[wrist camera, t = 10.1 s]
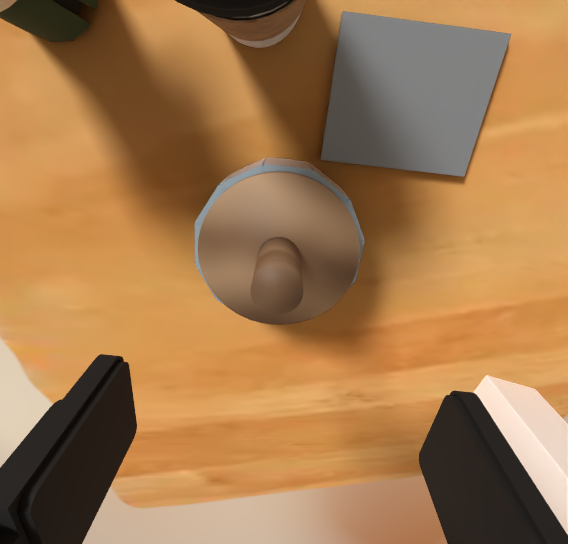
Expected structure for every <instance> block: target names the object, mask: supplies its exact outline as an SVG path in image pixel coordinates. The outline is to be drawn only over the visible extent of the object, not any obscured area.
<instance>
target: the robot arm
mask: <svg viewBox="0 0 568 544" xmlns="http://www.w3.org/2000/svg"><path fill="white" fill-rule="evenodd" d="M136 429H137V422H136V415H135V407H134V400H133V392H132V385H131V377H130V370H129V364H128V362H124V360H123V358H122V357H121V356H112V355H102V354H101V355H99V356H98V357H97V358H96V359H95V360H94V361H93V362H92V364H91V365H90V366H89V367H88V369H87V370H86V371H85V372H84V374H83V375H82V376H81V377H80V378H79V380H78V381H77V382H76V383H75V385H74V386H73V387H72V388H71V390H70V391H69V392H68V393H67V395H66V396H65V397H64V398H63V400H59V401H57V402H55V403H54V404H53V405H52V406H51V407H50V408H49V410H48V411H47V412H46V413H45V414H44V416H43V417H42V418H41V419H40V420H39V422H38V423H37V424H36V425H35V427H34V428H33V429H32V430H31V431H30V433H29V434H28V435H27V436H26V438H25V439H24V440H23V441H22V442H21V444H20V445H19V446H18V447H17V448H16V450H15V451H14V452H13V453H12V454H11V456H10V457H9V458H8V459H7V460H6V462H5V463H4V464H3V465H2V467H1V468H0V544H82V543H83V541H84V538H85V536H86V534H87V532H88V530H89V528H90V526H91V524H92V522H93V520H94V518H95V516H96V514H97V512H98V510H99V508H100V506H101V504H102V502H103V500H104V498H105V496H106V493H107V492H108V490H109V488H110V486H111V484H112V482H113V480H114V478H115V475H116V473H117V471H118V469H119V467H120V465H121V463H122V461H123V459H124V457H125V455H126V453H127V451H128V449H129V447H130V445H131V443H132V441H133V439H134V436H135V433H136ZM419 463H420V467H421V470H422V473H423V476H424V478H425V481H426V484H427V487H428V489H429V492H430V495H431V498H432V501H433V504H434V506H435V509H436V512H437V515H438V518H439V520H440V523H441V526H442V529H443V532H444V534H445V537H446V540H447V543H448V544H568V535H567V533H566V532H565V530H564V528H563V527H562V525H561V524H560V522H559V521H558V519H557V518H556V516H555V514H554V513H553V511H552V510H551V508H550V507H549V505H548V504H547V502H546V501H545V499H544V497H543V496H542V494H541V493H540V491H539V490H538V488H537V487H536V485H535V484H534V482H533V480H532V479H531V477H530V476H529V474H528V473H527V471H526V470H525V468H524V466H523V465H522V463H521V462H520V460H519V459H518V457H517V456H516V454H515V453H514V451H513V449H512V448H511V446H510V445H509V443H508V442H507V440H506V439H505V437H504V436H503V434H502V432H501V431H500V429H499V428H498V426H497V425H496V423H495V422H494V420H493V418H492V417H491V415H490V414H489V412H488V411H487V409H486V408H485V406H484V405H483V403H482V401H481V400H480V398H479V397H478V396H477V395H476V394H475V393H471V392H462V391H452V392H451V393H450V395H447V396H445V398H444V400H443V402H442V404H441V406H440V409H439V411H438V413H437V415H436V417H435V420H434V422H433V424H432V426H431V428H430V431H429V433H428V435H427V437H426V440H425V442H424V444H423V446H422V448H421V451H420V453H419Z"/></svg>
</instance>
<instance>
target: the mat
mask: <svg viewBox="0 0 568 544" xmlns="http://www.w3.org/2000/svg"><path fill="white" fill-rule="evenodd" d="M510 36H511V34H509V33H502V32H494V31H487V30H479V29H472V28H464V27H457V26H450V25H442V24H435V23H427V22H420V21H412V20H405V19H398V18H390V17H383V16H375V15H368V14H360V13H353V12H346V11H343V13H342V16H341V22H340V29H339V36H338V43H337V49H336V56H335V63H334V70H333V76H332V83H331V90H330V97H329V104H328V110H327V117H326V124H325V131H324V137H323V144H322V151H321V158H320V159H321V160H325V161H333V162H342V163H351V164H359V165H368V166H377V167H385V168H394V169H402V170H411V171H420V172H428V173H437V174H446V175H454V176H463V177H464V176H465V173H466V170H467V167H468V164H469V161H470V157H471V154H472V151H473V148H474V145H475V142H476V139H477V136H478V133H479V130H480V127H481V124H482V121H483V118H484V115H485V112H486V109H487V106H488V103H489V100H490V97H491V94H492V91H493V88H494V85H495V82H496V79H497V76H498V73H499V70H500V67H501V64H502V61H503V58H504V55H505V52H506V49H507V45H508V42H509V39H510Z"/></svg>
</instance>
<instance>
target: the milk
mask: <svg viewBox="0 0 568 544" xmlns="http://www.w3.org/2000/svg"><path fill="white" fill-rule="evenodd" d="M473 393H475V394H476V395H477V396H478V397H479V398H480V400H481V401H482V403H483V405H484V406H485V408H486V409H487V411H488V412H489V414H490V415H491V417H492V418H493V420H494V422H495V423H496V425H497V426H498V428H499V429H500V431H501V432H502V434H503V436H504V437H505V439H506V440H507V442H508V443H509V445H510V446H511V448H512V449H513V451H514V453H515V454H516V456H517V457H518V459H519V460H520V462H521V463H522V465H523V466H524V468H525V470H526V471H527V473H528V474H529V476H530V477H531V479H532V480H533V482H534V484H535V485H536V487H537V488H538V490H539V491H540V493H541V494H542V496H543V497H544V499H545V501H546V502H547V504H548V505H549V507H550V508H551V510H552V511H553V513H554V514H555V516H556V518H557V519H558V521H559V522H560V524H561V525H562V527H563V528H564V530H565V532H566V533H567V535H568V424H567V423H566V422H565V421H564V420H563V418H562V417H561V416H560V415H559V414H558V413H557V412H556V411H555V410H554V409H553V408H552V407H551V406H550V404H549V403H548V402H547V401H546V400H545V399H544V398H543V397H542V396H541V395H540V394H539V393H538V392H537V391H536V390H535V389H534V388H530V387H527V386H523V385H520V384H516V383H513V382H509V381H506V380H502V379H499V378H495V377H492V376H488V375H486V376H485V377H484V379H483V380H482V381H481V382H480V384H479V385H478V386H477V388H476V389H475V390H474V392H473Z"/></svg>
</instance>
